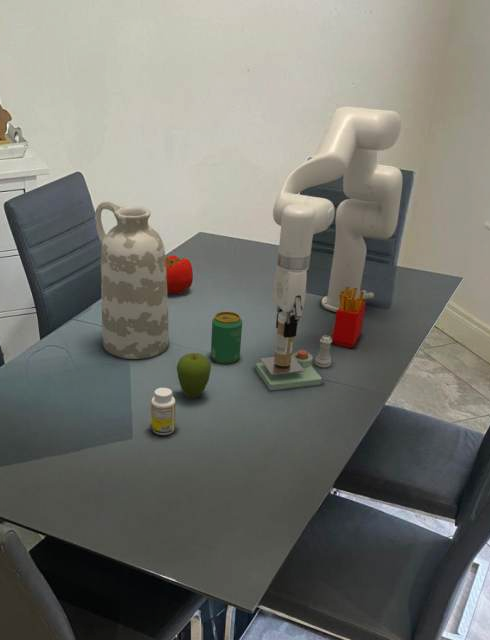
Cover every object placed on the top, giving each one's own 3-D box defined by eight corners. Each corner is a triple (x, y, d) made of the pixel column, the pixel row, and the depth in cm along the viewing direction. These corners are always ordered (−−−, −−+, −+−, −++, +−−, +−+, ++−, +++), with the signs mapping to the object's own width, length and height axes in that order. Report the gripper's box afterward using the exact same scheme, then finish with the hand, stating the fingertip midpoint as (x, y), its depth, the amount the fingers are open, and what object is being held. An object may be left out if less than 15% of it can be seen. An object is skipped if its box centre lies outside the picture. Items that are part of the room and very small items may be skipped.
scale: (306, 362, 201) (308, 351, 199) (324, 384, 192) (326, 372, 190) (254, 368, 199) (255, 356, 196) (270, 390, 189) (271, 378, 187)
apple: (198, 407, 183) (200, 365, 175) (169, 398, 186) (170, 356, 179) (215, 392, 188) (217, 351, 181) (187, 384, 192) (188, 343, 185)
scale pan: (291, 356, 197) (292, 354, 196) (304, 371, 190) (304, 370, 190) (259, 359, 195) (260, 358, 195) (271, 375, 188) (271, 374, 188)
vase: (179, 337, 213) (180, 199, 189) (151, 365, 200) (149, 220, 176) (116, 325, 220) (111, 190, 196) (86, 351, 207) (76, 210, 183)
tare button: (304, 355, 198) (305, 349, 197) (308, 359, 196) (309, 353, 195) (295, 356, 197) (296, 350, 196) (299, 360, 195) (300, 354, 194)
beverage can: (223, 348, 208) (226, 308, 200) (245, 358, 203) (248, 316, 196) (204, 358, 203) (206, 316, 196) (226, 367, 199) (228, 326, 191)
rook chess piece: (332, 362, 201) (336, 334, 196) (329, 369, 198) (333, 342, 193) (315, 359, 202) (319, 332, 198) (312, 367, 199) (316, 339, 194)
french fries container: (329, 344, 210) (336, 296, 201) (337, 331, 217) (344, 285, 208) (353, 348, 208) (362, 300, 199) (361, 335, 214) (369, 289, 206)
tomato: (199, 288, 242) (200, 256, 236) (178, 301, 234) (179, 269, 227) (164, 279, 248) (164, 248, 242) (143, 292, 239) (142, 260, 233)
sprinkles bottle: (294, 363, 192) (300, 314, 183) (281, 368, 190) (286, 319, 181) (283, 357, 195) (288, 308, 186) (269, 361, 193) (274, 312, 184)
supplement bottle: (161, 421, 178) (161, 383, 171) (179, 428, 175) (180, 390, 169) (146, 430, 174) (146, 392, 168) (164, 438, 172) (164, 400, 165)
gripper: (266, 249, 181) (260, 319, 193) (291, 275, 168) (283, 348, 180) (295, 247, 182) (287, 317, 194) (322, 272, 170) (312, 345, 181)
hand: (285, 331), depth 187 cm, fingers closed on sprinkles bottle, 4 cm apart
